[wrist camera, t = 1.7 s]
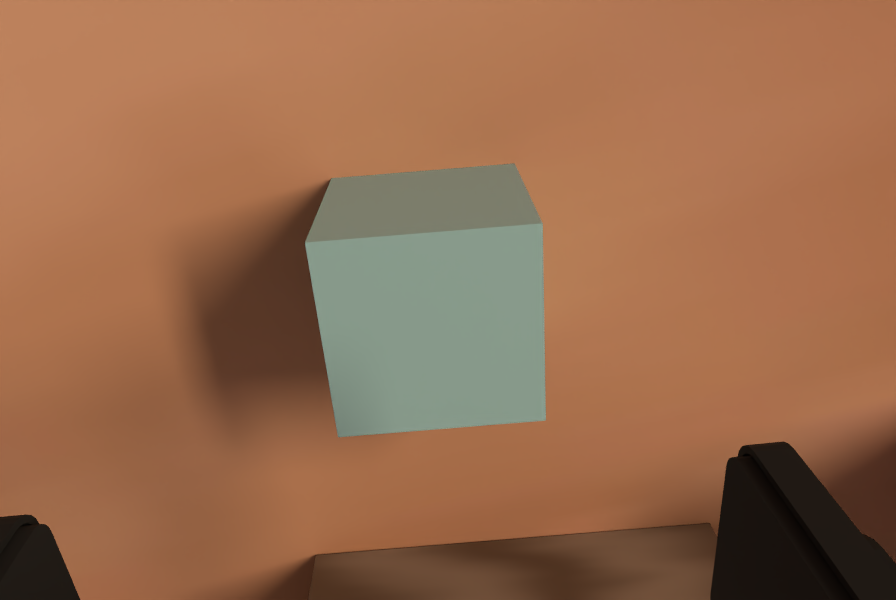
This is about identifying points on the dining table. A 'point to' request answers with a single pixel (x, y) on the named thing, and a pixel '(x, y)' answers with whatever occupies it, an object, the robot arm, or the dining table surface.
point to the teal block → (430, 299)
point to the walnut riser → (530, 568)
